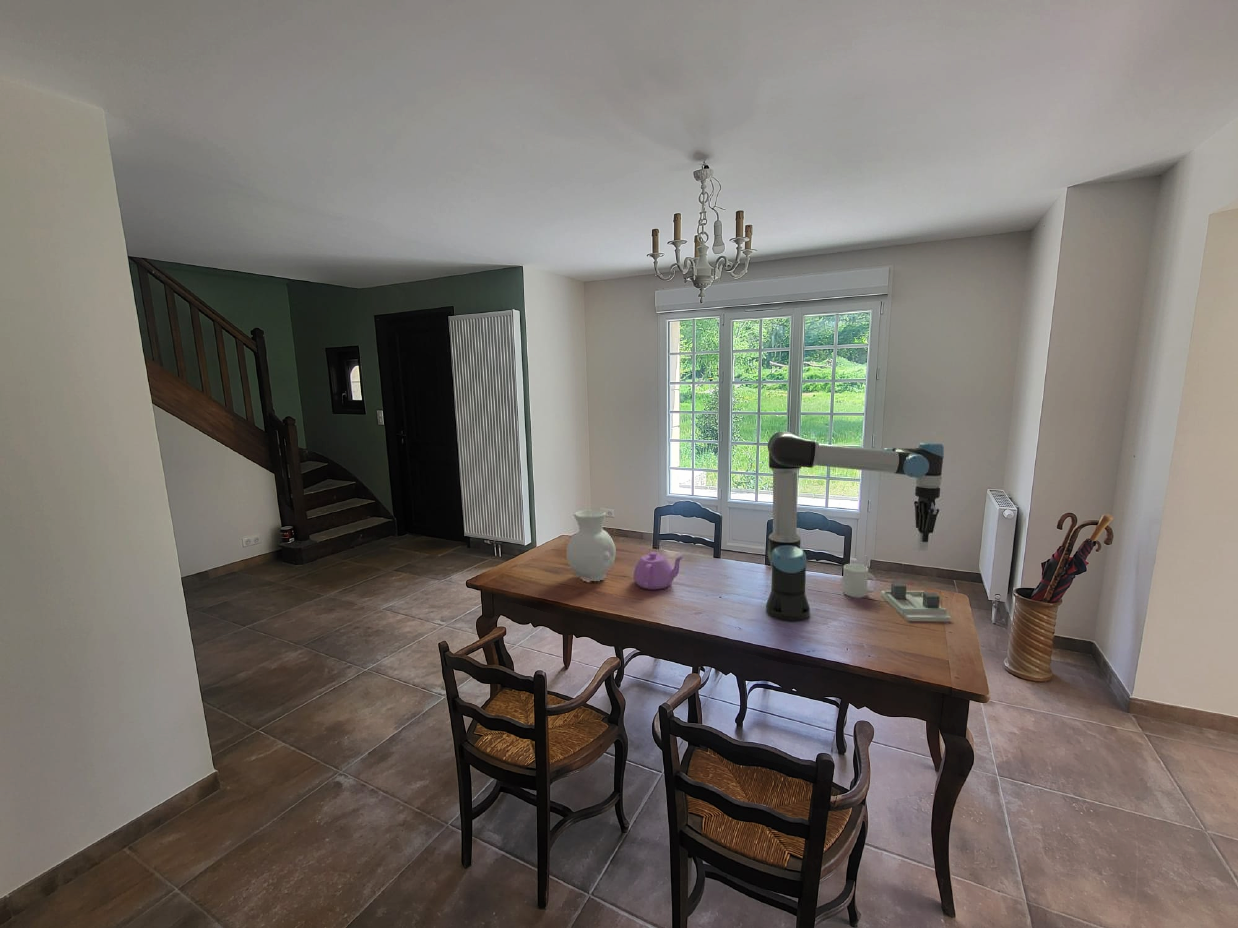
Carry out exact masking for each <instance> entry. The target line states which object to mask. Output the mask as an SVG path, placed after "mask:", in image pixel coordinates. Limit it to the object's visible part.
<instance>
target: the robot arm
mask: <svg viewBox="0 0 1238 928" xmlns="http://www.w3.org/2000/svg"><path fill="white" fill-rule="evenodd" d="M767 450H768V469H770V470H771V471H772V532H771V533H770V534H769V535H768V547H767V551H766V553H767V558H768V561H769V565H770V569H771V588H770V592H769V596H768V598H767V601H766V604H765V605H766V606H765V610H766V614H767V615H769V616H771V617H772V618H775V619H777V620H781V621H785V622H802V621H804V620H806V619H809V618H810V615H811V608H810V605H809V600H808V599H807V598H808V597H807V594H806V578H807V577H806V574H807V573H806V572H807V563H808V561H807V555H806V553H805V551H804V550H803V549H801V544H802V543H801V537H800V536H799V534H797V525H798V524H797V522H798V521H797V519H798V518H797V513H798V511H797V508H798V507H797V503H798V501H797V499H798V495H797V494H798V492H797V491H798V472H799V471H800V470H801V469H802V468H808V469H810V468H811V469H813V468H814V467H815V466H818V467H825V468H827V467H828V468H829V467H830V468H837V469H846V470H857V471H865V472H874V473H875V472H878V473H887V474H895V475H901V476H907V477H910V478H915V490H914V492H915V493H914V496H916V497H917V499H918V500H917V501H916V500H915V501H913V504H914V510H915V511H914V512H915V513H914V514H915V516H914V517H915V528H916V529H917V530H918V531H917V532H918V540H917V550H919V551H928V549H929V535H930V534H934V530H935V526H936V522H937V517H938V515H939V513H940V509H939V508H936V500H937V499H939V498H940V495H941V488H940V487H941V484H942V479H943V477H942V471H943V462H944V452H945V450H944V445H943V444H942V443H939V442H931V441H930V442H929V441H927V442H926V441H924V442H920V443H919V444H918V447H915V448H908V447H907V448H906V447H885V448H883V449H875V448H865V447H854V446H846V445H836V444H827V443H818V442H817V440H815V439H808V438H803V437H801V436H798V435H797V434H796V433H795V432H793V431H790V430H781V431H777V432H774V433H773V434H772V435H771V437H770V438H769V439H768V442H767Z"/></svg>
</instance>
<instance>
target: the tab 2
mask: <svg viewBox="0 0 1238 928" xmlns="http://www.w3.org/2000/svg"><path fill="white" fill-rule="evenodd" d="M923 606H924V607H925V608H939V606H940V596H939V595H938V594H937V593H935V592H932V593H931V592H924V593H923Z"/></svg>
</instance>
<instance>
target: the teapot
mask: <svg viewBox="0 0 1238 928" xmlns="http://www.w3.org/2000/svg"><path fill="white" fill-rule="evenodd" d="M648 553H649V554H644V555H642V556H641V557H640V558H639V559H638V562H637V563H636V565H635V568H634V571H633V576H632V577H633V581H634V582H635V584H637V586H639V587H640V588H642V587H643V588H642V589H645V588H646V589H645V590H661V589H665V588H668V587H669V586H670V585H671V584H672V583H673V581H674V580H675V578H676V577H677V576H678V575H679V572H680V562H681V560H682V559H683V558H684V557H685V556H684V555H681V556H679V557H676V558H675V559H674V566H673V567H672V565H671V564H670V562H669V561H668V559H667V558H666V556H665V555H662V553H661V552H656V551H651V552H650V551H649V552H648Z"/></svg>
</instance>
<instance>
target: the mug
mask: <svg viewBox="0 0 1238 928" xmlns="http://www.w3.org/2000/svg"><path fill="white" fill-rule="evenodd" d="M842 573H843V579H842V592H843V594H845V595H846V596H848V597H851V598H857V599H858V598H859V599H860V598H865V597H866V596H867V595H868V594H872V593H874V592H875V591H876V590H877V587H878V581H877V579H876V577H875V576H874V575H873V574H871V573H870V572H869V567H867V566H866V565H863V564H858V563H846V564H844V565H843V572H842ZM868 579H871V580H873V581H874V583H875V587H874V588H869V587H868V584H869V583H868V581H869V580H868Z"/></svg>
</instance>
